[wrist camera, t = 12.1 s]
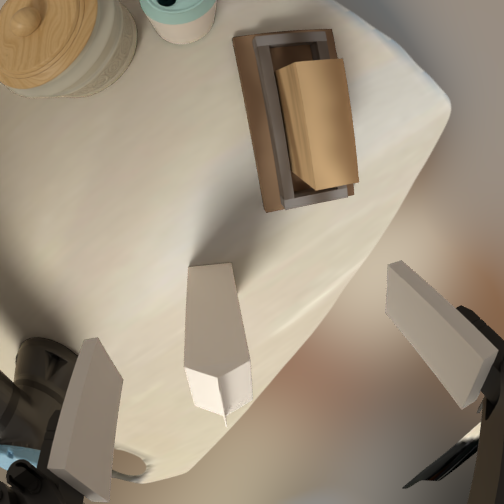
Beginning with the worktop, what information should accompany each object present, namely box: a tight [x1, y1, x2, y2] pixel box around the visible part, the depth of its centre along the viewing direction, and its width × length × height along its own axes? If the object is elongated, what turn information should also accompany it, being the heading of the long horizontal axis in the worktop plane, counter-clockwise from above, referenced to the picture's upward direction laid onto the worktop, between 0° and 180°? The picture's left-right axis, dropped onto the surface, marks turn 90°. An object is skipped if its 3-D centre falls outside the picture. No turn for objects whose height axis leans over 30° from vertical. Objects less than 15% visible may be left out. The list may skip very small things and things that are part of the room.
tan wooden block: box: [274, 59, 359, 190], centre depth 31 cm, size 5×12×10 cm, turn 11°
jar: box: [0, 0, 137, 98], centre depth 21 cm, size 13×13×18 cm
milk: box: [184, 263, 253, 427], centre depth 35 cm, size 6×6×22 cm
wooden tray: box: [232, 29, 354, 213], centre depth 35 cm, size 12×22×4 cm, turn 10°
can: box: [140, 0, 217, 44], centre depth 24 cm, size 7×7×12 cm
